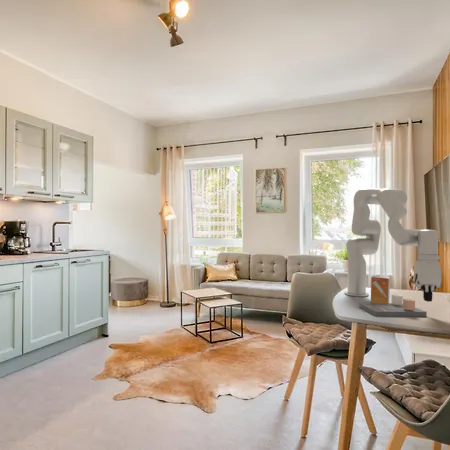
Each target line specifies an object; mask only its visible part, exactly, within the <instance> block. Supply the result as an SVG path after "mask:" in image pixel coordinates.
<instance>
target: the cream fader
mask: <svg viewBox="0 0 450 450" xmlns="http://www.w3.org/2000/svg"><path fill="white" fill-rule="evenodd" d="M403 299H404V298H403V295H400V294H396V293H394V294H391V303H393V304H395V305H402V304H403Z"/></svg>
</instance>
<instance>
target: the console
mask: <svg viewBox="0 0 450 450" xmlns="http://www.w3.org/2000/svg"><path fill="white" fill-rule="evenodd" d="M358 305H359V307H358V308H359V309H361V310H364V311H365V312H367V313H369V314H371V315H373V316H375V317H427V313H428V312H427V311H426V310H424V309H420V308H419V307H416V306H415V310H406V309H404V308H403V303H402V305H395V304H393V303H390V302H389V303H371V302H368V303H367V302H365V303H364V302H359V304H358Z"/></svg>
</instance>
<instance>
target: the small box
mask: <svg viewBox="0 0 450 450" xmlns="http://www.w3.org/2000/svg"><path fill="white" fill-rule="evenodd" d="M370 279H371V281H370V303H390V295H391V294H390V290H391V289H390V288H391V287H390V283H391V282H390V281H391V277H390V276H381V275H372V276H370Z"/></svg>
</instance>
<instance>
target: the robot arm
mask: <svg viewBox="0 0 450 450" xmlns="http://www.w3.org/2000/svg"><path fill="white" fill-rule="evenodd" d="M407 200H408V195H407V193H406V192H405V191H404V190H402V189H399V188H375V187H374V188H373V187H364V188H360V189H358V190H357V191H356V192H355V194H354V196H353V214H352V223H351V233H352V234H353V235H355V236H362V237H351V238H349V239H348V240H347V242H346V245H345V248H346V249H345V250H346V254H347V290H344V295H346V296H352V297H360V298H361V297H369V296H370V295H369V294H370V292H367V291H366V290H367V262H366V259H365V257H364V256H369V255H375V254H376V253H377V251H379V250H378V249H379V244H380V239H381V238H380V237H381V233H382V231H381V230H382V227H381V224H380V222H379V220H377V219H374V218H370V217H371V216H370V215H371V209H370V206H369V205H377V206H381V207H382V209H383V211H384V212H385V214H386V215H387V217H388V220H387V221H388V222H387V230H388V233H389V235H390V236H391V238H392V240H394V242H395V243H396V244H397V245H399V246H402V247H417V260H415V263H414V264H415V265H414V268H413V283H414V286H415V288H420V289H421V291H422V292H423V293H422V294H423V296H422V297H423V301H425V302H428V303H429V302H430V303H431V302H432V301H433V293H434V292H435V290H436V289H438V288H441V287H442V286H441V284H442V279H443V278H442V268H441V263H440V262H439V259H441V256H440V255H439V233H438V231H437V230H435V229H414V228H413V229H412V228H411V229H410V228H409V229H407V228H404V227H403V226H402V224H401V222H400V220H402V219H403V218H404V217H405V216H406V215H407V213H408V210H407V207H406V206H405V204H406V203H407ZM363 236H365V237H363Z"/></svg>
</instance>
